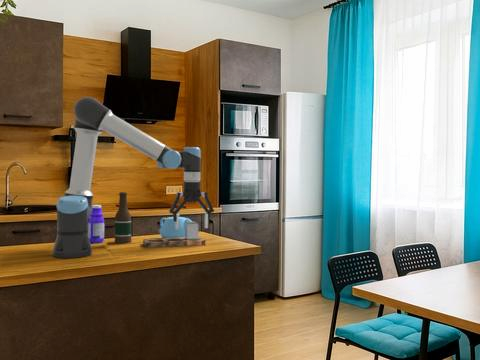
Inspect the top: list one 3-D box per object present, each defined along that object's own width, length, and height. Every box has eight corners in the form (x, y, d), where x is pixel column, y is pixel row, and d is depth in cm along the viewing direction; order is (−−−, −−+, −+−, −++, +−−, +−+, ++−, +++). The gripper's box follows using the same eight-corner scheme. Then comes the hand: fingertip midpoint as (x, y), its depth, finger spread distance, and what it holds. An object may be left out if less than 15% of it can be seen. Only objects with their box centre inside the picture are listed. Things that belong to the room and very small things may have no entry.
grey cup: (187, 244, 215) (187, 223, 215) (184, 242, 220) (184, 221, 219) (198, 243, 217) (198, 222, 216) (195, 242, 221) (195, 221, 221)
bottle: (99, 240, 231) (99, 204, 230) (106, 241, 227) (106, 205, 227) (86, 242, 225) (86, 205, 225) (93, 243, 222) (93, 206, 221)
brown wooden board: (146, 250, 206) (146, 242, 206) (143, 246, 216) (143, 239, 216) (205, 247, 215) (205, 240, 215) (199, 243, 225) (199, 236, 225)
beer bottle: (134, 243, 223) (134, 191, 222) (128, 246, 215) (128, 192, 214) (117, 243, 224) (117, 191, 223) (111, 246, 216) (111, 192, 215)
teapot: (150, 240, 233) (150, 214, 233) (171, 234, 252) (172, 210, 251) (185, 243, 226) (186, 216, 225) (205, 237, 244) (205, 212, 243)
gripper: (166, 181, 209) (165, 230, 210) (221, 181, 218) (220, 228, 219) (162, 181, 217) (162, 228, 217) (216, 181, 225) (215, 226, 226)
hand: (191, 228), depth 218 cm, fingers open, 13 cm apart
